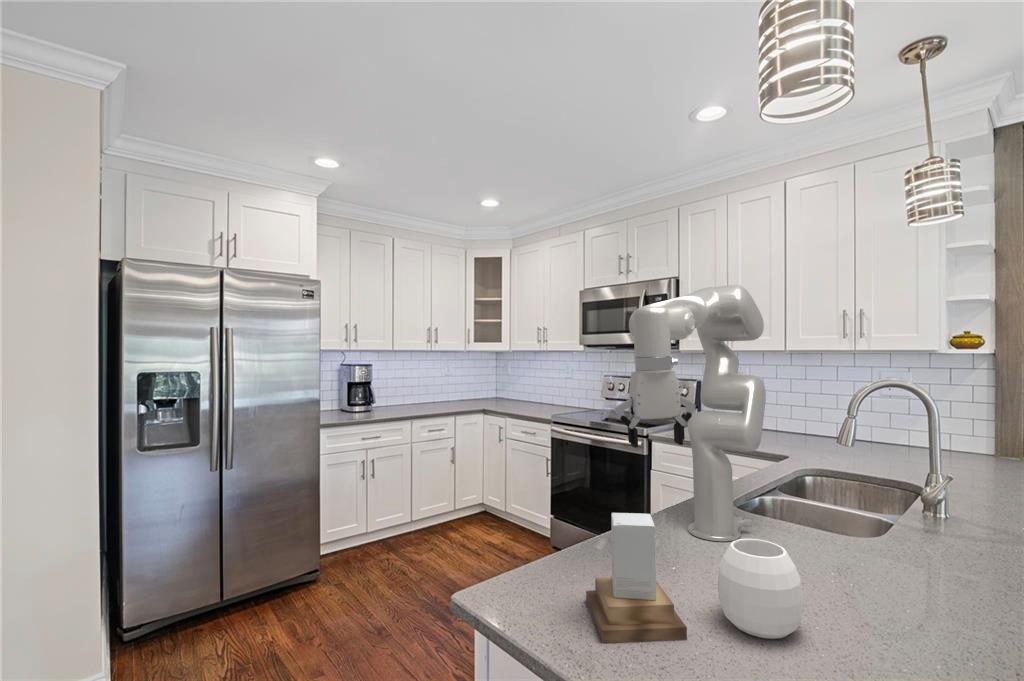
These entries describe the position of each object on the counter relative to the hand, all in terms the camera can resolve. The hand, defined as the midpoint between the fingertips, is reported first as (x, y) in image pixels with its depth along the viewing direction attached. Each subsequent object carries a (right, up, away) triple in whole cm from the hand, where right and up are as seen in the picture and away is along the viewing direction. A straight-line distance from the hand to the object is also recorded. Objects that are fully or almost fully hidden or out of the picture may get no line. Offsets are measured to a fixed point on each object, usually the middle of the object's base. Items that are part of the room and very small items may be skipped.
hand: (656, 444), depth 108 cm
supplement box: (-9, -22, -18) cm, 30 cm away
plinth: (-9, -27, -18) cm, 34 cm away
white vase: (+12, -27, -21) cm, 36 cm away
